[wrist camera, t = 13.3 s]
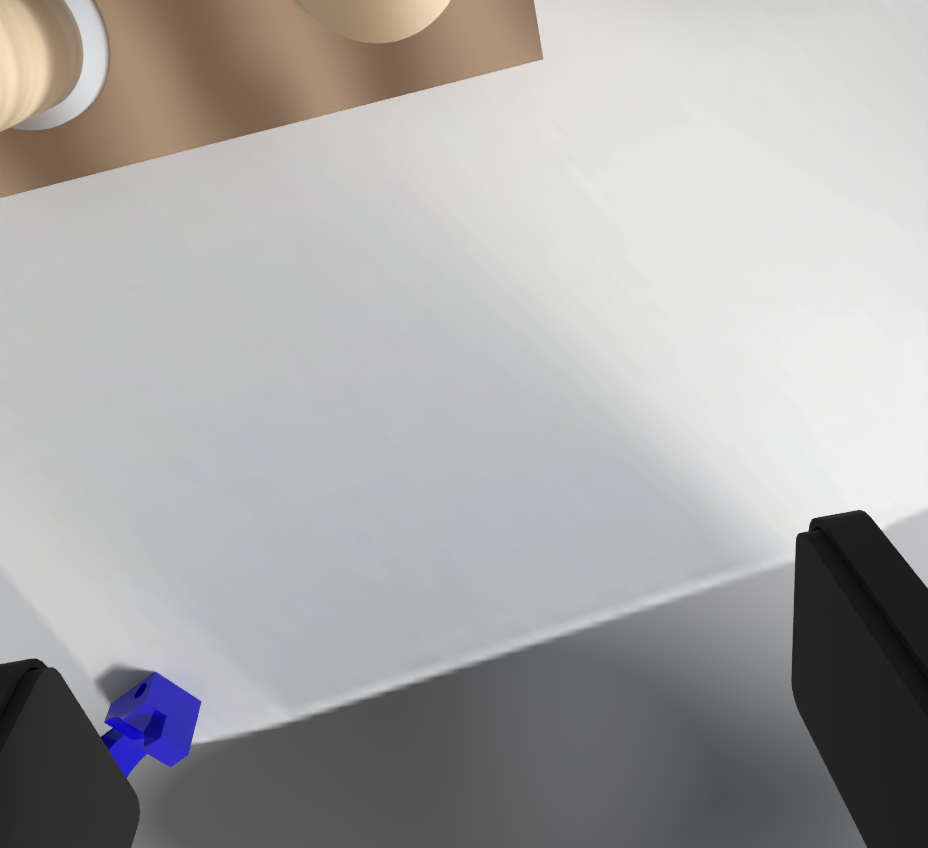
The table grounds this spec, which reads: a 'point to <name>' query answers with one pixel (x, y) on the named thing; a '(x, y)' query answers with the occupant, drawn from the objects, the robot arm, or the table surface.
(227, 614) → the table surface
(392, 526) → the table surface
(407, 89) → the brown board with pegs
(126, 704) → the cable holder
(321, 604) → the table surface
